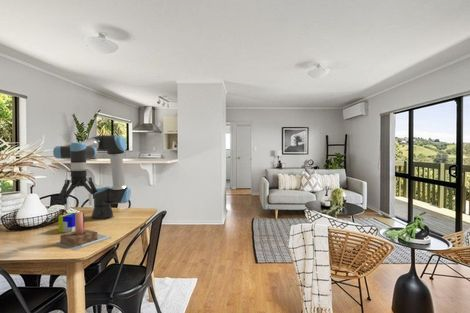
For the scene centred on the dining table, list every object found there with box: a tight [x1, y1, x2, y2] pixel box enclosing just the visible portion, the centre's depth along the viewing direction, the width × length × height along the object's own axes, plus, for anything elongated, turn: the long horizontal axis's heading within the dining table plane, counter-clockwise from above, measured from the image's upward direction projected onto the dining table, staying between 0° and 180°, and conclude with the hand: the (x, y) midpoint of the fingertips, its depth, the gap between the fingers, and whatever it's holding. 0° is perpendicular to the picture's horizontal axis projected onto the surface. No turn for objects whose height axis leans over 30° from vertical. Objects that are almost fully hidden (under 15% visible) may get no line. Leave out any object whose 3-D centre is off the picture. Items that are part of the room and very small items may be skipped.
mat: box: [53, 233, 113, 251], centre depth 144 cm, size 22×20×1 cm
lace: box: [81, 236, 110, 246], centre depth 142 cm, size 16×1×1 cm, turn 153°
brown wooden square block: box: [59, 228, 98, 247], centre depth 142 cm, size 13×13×4 cm
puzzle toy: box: [58, 212, 85, 233], centre depth 166 cm, size 10×10×10 cm
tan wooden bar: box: [74, 211, 84, 236], centre depth 142 cm, size 4×4×16 cm
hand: (79, 207), depth 142 cm, fingers open, 13 cm apart
